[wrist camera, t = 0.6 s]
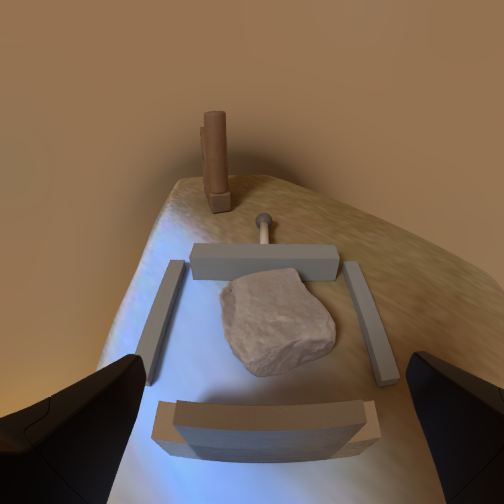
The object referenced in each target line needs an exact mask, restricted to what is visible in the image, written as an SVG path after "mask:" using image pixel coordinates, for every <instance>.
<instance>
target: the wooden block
mask: <svg viewBox="0 0 504 504" xmlns="http://www.w3.org/2000/svg"><path fill="white" fill-rule="evenodd" d="M225 114H226V113H225V112H224V111H211V112H206V113H204V127H201V128H200V135H201V150H202V160H203V162H202V165H203V178H204V190H205V194H206V197H207V198H208V202H209V205H210V208H211V211H212V213H219V212H226V211H231V194H230V192H229V190H228V167H227V142H226V115H225Z"/></svg>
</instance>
